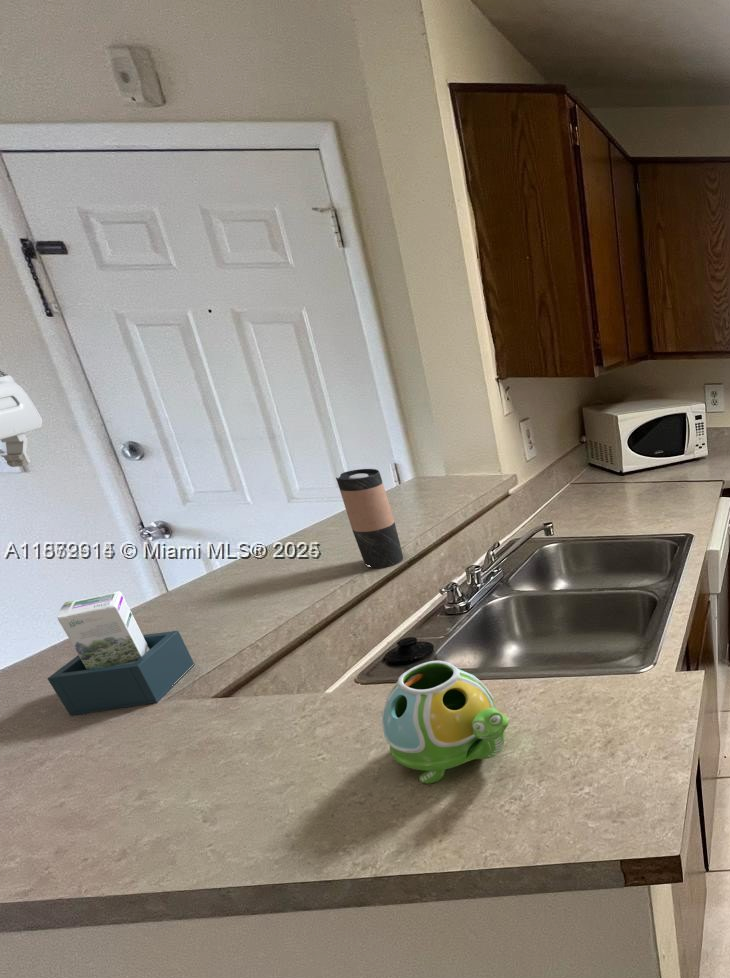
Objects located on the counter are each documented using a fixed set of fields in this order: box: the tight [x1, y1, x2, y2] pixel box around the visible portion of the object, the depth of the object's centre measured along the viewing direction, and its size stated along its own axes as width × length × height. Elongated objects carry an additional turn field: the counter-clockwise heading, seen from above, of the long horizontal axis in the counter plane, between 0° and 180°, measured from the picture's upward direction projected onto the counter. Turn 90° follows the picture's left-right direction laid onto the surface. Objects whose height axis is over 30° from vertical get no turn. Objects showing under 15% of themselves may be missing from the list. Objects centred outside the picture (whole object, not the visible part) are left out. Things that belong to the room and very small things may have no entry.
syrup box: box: [56, 590, 150, 670], centre depth 89 cm, size 6×6×14 cm
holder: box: [46, 630, 195, 716], centre depth 91 cm, size 10×10×6 cm
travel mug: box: [335, 468, 404, 570], centre depth 129 cm, size 8×8×20 cm
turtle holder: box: [381, 660, 509, 784], centre depth 78 cm, size 12×18×12 cm
